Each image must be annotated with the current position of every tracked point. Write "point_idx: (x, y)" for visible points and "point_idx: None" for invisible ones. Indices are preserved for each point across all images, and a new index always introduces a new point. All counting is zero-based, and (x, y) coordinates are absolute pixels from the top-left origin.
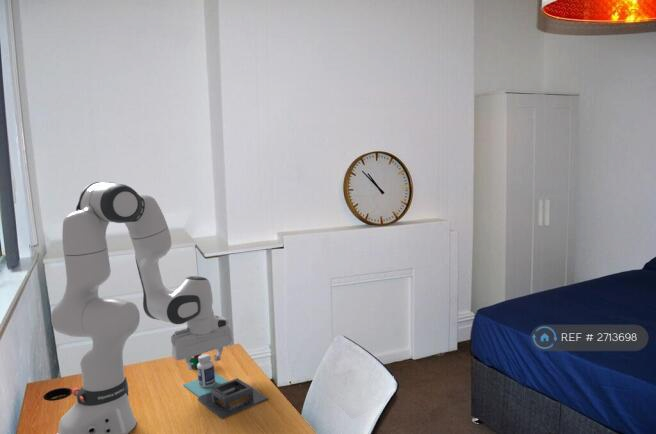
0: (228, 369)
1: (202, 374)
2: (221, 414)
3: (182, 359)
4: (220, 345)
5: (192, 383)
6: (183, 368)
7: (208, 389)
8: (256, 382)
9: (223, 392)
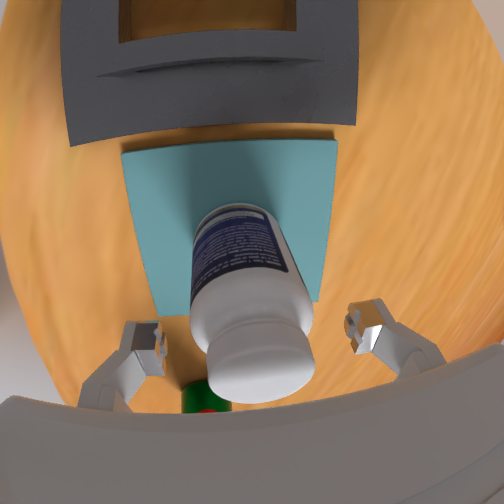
0: (100, 315)
1: (290, 258)
2: None
3: (482, 348)
4: (91, 430)
5: None
6: None
7: (262, 179)
8: (20, 111)
9: (213, 79)
